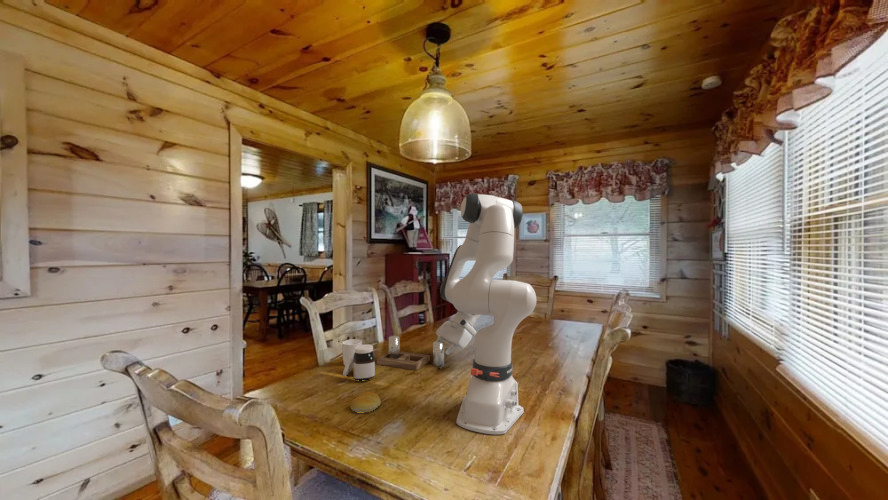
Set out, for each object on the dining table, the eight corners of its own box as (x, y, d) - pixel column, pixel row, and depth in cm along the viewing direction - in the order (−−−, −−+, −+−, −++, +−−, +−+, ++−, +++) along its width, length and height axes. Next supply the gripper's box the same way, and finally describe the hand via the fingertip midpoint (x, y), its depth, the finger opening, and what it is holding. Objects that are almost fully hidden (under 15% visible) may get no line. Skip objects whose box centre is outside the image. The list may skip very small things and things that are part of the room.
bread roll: (345, 412, 101) (345, 398, 101) (363, 399, 109) (363, 387, 109) (368, 417, 98) (368, 403, 98) (385, 403, 106) (385, 391, 106)
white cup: (342, 364, 141) (341, 340, 141) (361, 362, 143) (361, 338, 143) (342, 370, 133) (342, 345, 133) (362, 368, 136) (362, 343, 136)
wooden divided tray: (416, 373, 130) (416, 364, 130) (376, 367, 137) (376, 358, 137) (429, 363, 141) (429, 355, 141) (392, 357, 148) (392, 350, 148)
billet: (441, 369, 135) (441, 344, 135) (431, 367, 136) (431, 343, 136) (445, 365, 139) (445, 341, 139) (435, 364, 141) (435, 340, 140)
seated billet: (396, 363, 138) (396, 339, 138) (386, 361, 140) (386, 337, 140) (401, 359, 142) (401, 336, 142) (392, 358, 144) (392, 335, 144)
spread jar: (376, 381, 123) (376, 349, 123) (344, 386, 119) (344, 353, 118) (371, 370, 134) (371, 341, 134) (341, 374, 130) (341, 344, 130)
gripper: (445, 314, 151) (425, 339, 146) (469, 324, 132) (447, 352, 128) (454, 323, 153) (434, 347, 148) (478, 334, 134) (457, 362, 130)
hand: (440, 350), depth 138 cm, fingers open, 8 cm apart
